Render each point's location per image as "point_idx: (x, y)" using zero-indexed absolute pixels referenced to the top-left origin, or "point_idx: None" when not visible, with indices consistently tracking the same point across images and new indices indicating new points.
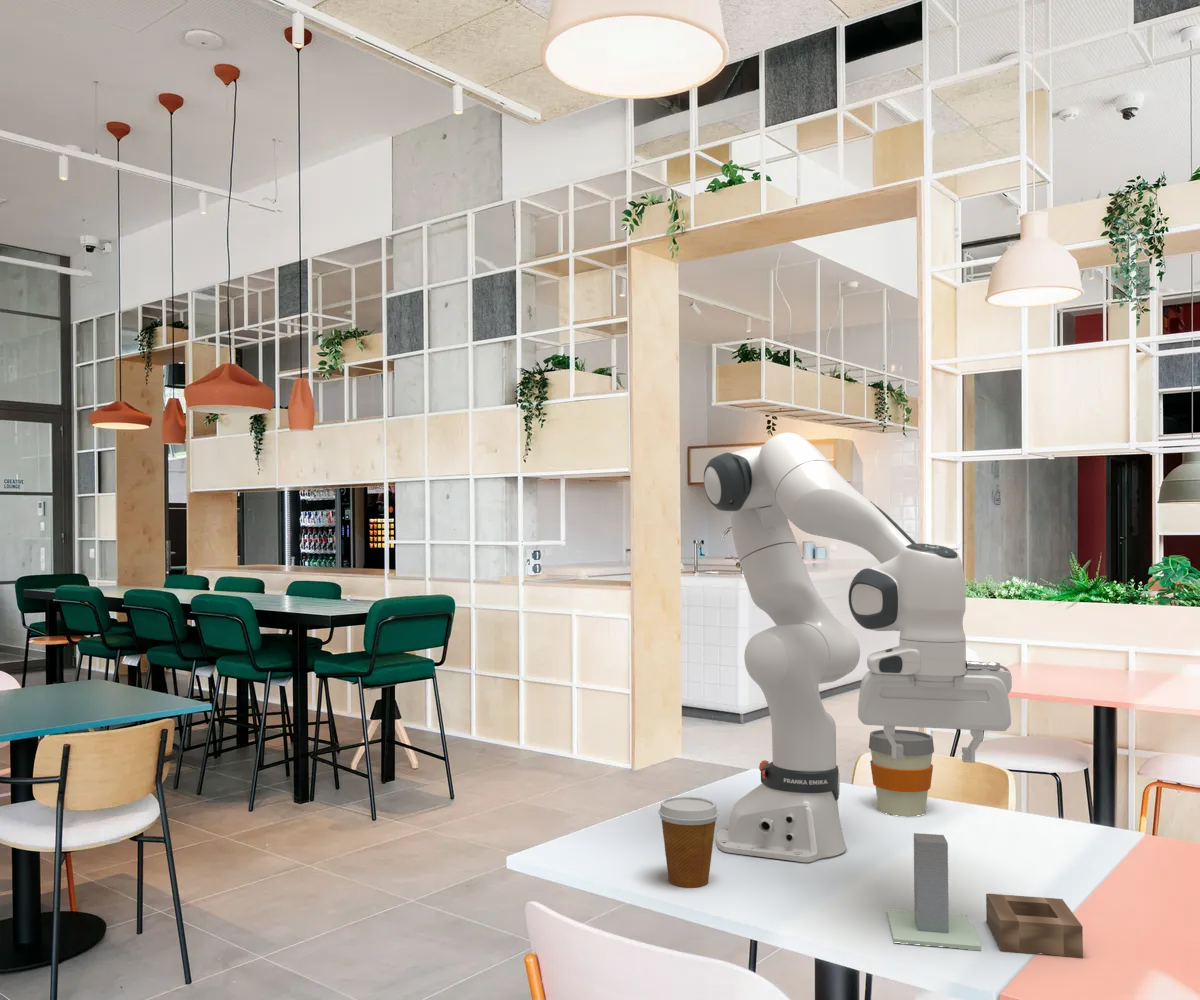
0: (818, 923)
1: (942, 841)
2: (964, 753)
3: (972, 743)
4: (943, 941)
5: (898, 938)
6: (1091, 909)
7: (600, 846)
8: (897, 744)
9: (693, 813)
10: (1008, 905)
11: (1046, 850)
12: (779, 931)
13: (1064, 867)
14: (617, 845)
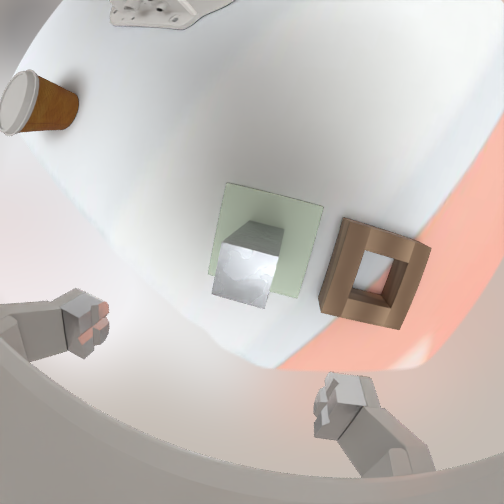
0: (146, 214)
1: (259, 296)
2: (316, 425)
3: (360, 448)
4: None
5: (213, 273)
6: (468, 189)
7: (39, 52)
8: (65, 320)
9: (8, 131)
10: (357, 267)
11: (473, 29)
12: (111, 235)
13: (481, 72)
14: (48, 44)
